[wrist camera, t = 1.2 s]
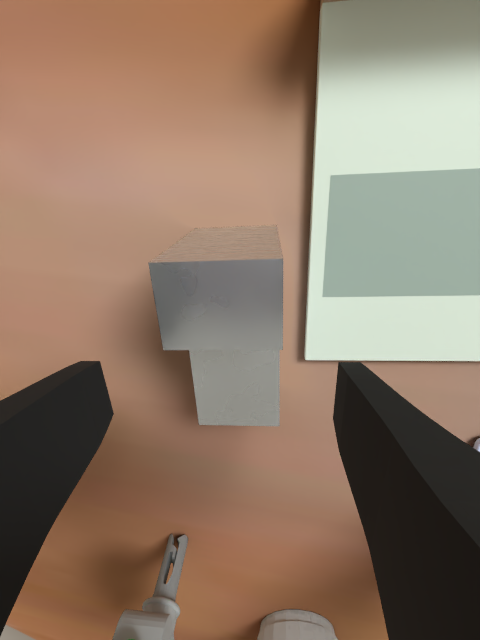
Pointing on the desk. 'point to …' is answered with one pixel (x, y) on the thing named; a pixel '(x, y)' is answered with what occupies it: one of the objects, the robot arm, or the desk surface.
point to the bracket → (225, 319)
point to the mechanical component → (157, 602)
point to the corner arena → (396, 183)
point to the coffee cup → (296, 626)
